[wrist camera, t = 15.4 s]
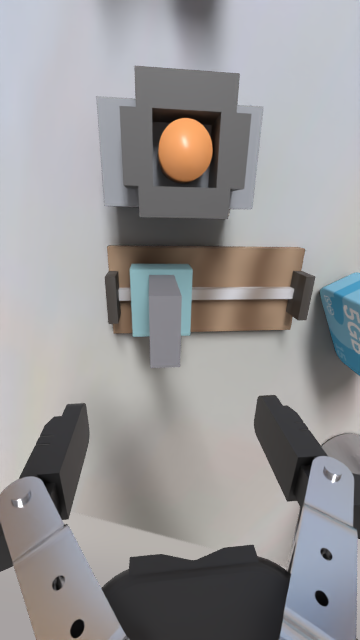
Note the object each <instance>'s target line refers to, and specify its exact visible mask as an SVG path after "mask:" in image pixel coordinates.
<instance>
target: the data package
mask: <svg viewBox="0 0 360 640" xmlns="http://www.w3.org/2000/svg"><path fill="white" fill-rule="evenodd" d="M320 296H321V300H322V304H323V307H324V311H325V315H326V318H327V322H328V326H329V329H330V333H331V337H332V340H333V344H334V348H335V351H336V353H337V355H338V357H339V358H340V360H341V361H342V362H343V363H344V364H346V365H347V366H348V367H349V368H351V369H352V370H353V371H354V372H356V373H357V374H358V375H359V376H360V273H353V274H351V275H349V276H346V277H344V278H342V279H340V280H338V281H336V282H334V283H331V284H329V285H327V286H325V287H323V288H322V289H321V290H320Z"/></svg>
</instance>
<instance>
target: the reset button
mask: <svg viewBox="0 0 360 640" xmlns="http://www.w3.org/2000/svg"><path fill="white" fill-rule="evenodd" d="M212 152H213V147H212V141H211V138H210V135H209V133H208V131H207V130H206V128H205V127H204V126H203V125H202V124H201V123H199V122H198V121H196V120H194V119H190V118H181V119H177V120H175V121H173V122H172V123H170V124H169V125H168V126H167V127H166V128H165V130H164V131H163V133H162V135H161V138H160V142H159V148H158V162H159V166H160V168H161V170H162V172H163V174H164V175H165V176H166V177H167V178H168V179H169V180H171V181H173V182H175V183H179V184H185V183H189V182H191V181H193V180H195V179H196V178H198V177H199V176H201V175H202V174H203V173H204V172H205V171H206V169H207V168H208V166H209V164H210V162H211V158H212Z"/></svg>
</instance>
